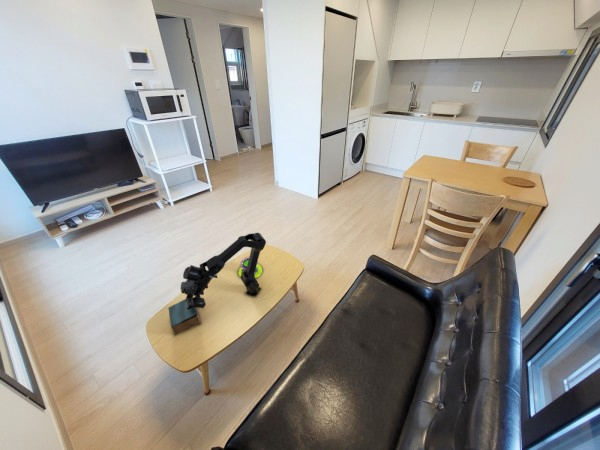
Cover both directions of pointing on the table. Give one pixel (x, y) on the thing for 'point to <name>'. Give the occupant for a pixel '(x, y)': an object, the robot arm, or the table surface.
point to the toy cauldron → (244, 267)
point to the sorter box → (186, 324)
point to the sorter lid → (181, 312)
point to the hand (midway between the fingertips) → (186, 305)
